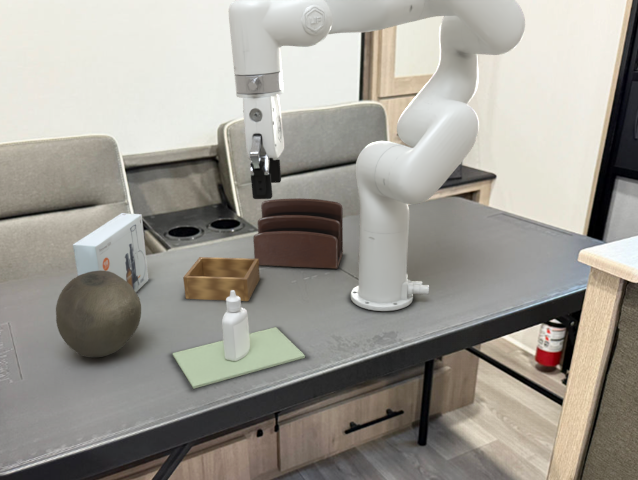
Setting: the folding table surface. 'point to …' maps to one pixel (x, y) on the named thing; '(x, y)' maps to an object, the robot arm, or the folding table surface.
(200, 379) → the mat
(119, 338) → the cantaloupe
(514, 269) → the folding table surface
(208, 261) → the wooden box
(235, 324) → the eye dropper bottle
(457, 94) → the robot arm
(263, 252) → the letter holder
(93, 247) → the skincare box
